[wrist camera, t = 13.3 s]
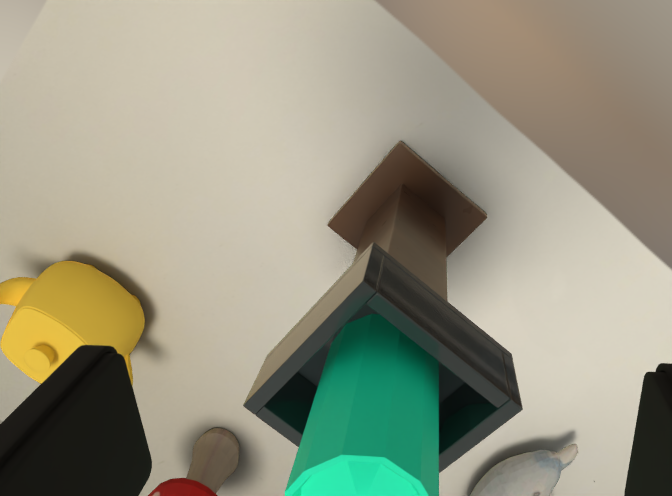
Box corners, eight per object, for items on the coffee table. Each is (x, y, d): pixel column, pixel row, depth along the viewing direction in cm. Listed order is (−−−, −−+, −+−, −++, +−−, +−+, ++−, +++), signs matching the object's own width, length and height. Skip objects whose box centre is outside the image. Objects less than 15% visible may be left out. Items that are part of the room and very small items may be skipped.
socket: (267, 355, 33) (242, 406, 29) (373, 240, 29) (362, 281, 25) (393, 451, 34) (387, 513, 30) (512, 353, 31) (523, 409, 26)
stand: (328, 221, 53) (262, 355, 33) (400, 139, 49) (373, 235, 29) (410, 288, 54) (394, 454, 35) (486, 213, 50) (517, 353, 31)
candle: (307, 353, 32) (239, 535, 21) (387, 292, 30) (358, 461, 19) (379, 423, 33) (350, 631, 22) (462, 370, 31) (476, 573, 20)
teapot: (3, 284, 62) (-78, 337, 53) (42, 211, 58) (-38, 253, 48) (140, 381, 64) (87, 448, 55) (189, 317, 60) (141, 379, 50)
